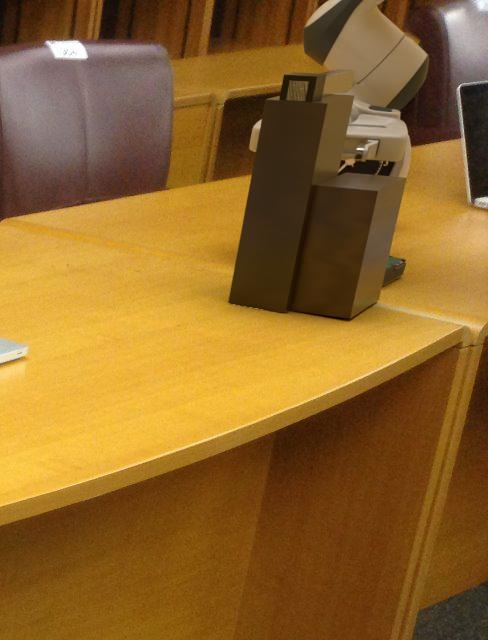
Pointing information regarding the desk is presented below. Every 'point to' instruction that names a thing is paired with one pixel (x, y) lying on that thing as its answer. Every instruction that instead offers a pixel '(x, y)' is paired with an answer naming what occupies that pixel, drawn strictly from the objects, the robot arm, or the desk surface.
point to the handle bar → (315, 85)
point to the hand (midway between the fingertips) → (323, 152)
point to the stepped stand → (312, 216)
